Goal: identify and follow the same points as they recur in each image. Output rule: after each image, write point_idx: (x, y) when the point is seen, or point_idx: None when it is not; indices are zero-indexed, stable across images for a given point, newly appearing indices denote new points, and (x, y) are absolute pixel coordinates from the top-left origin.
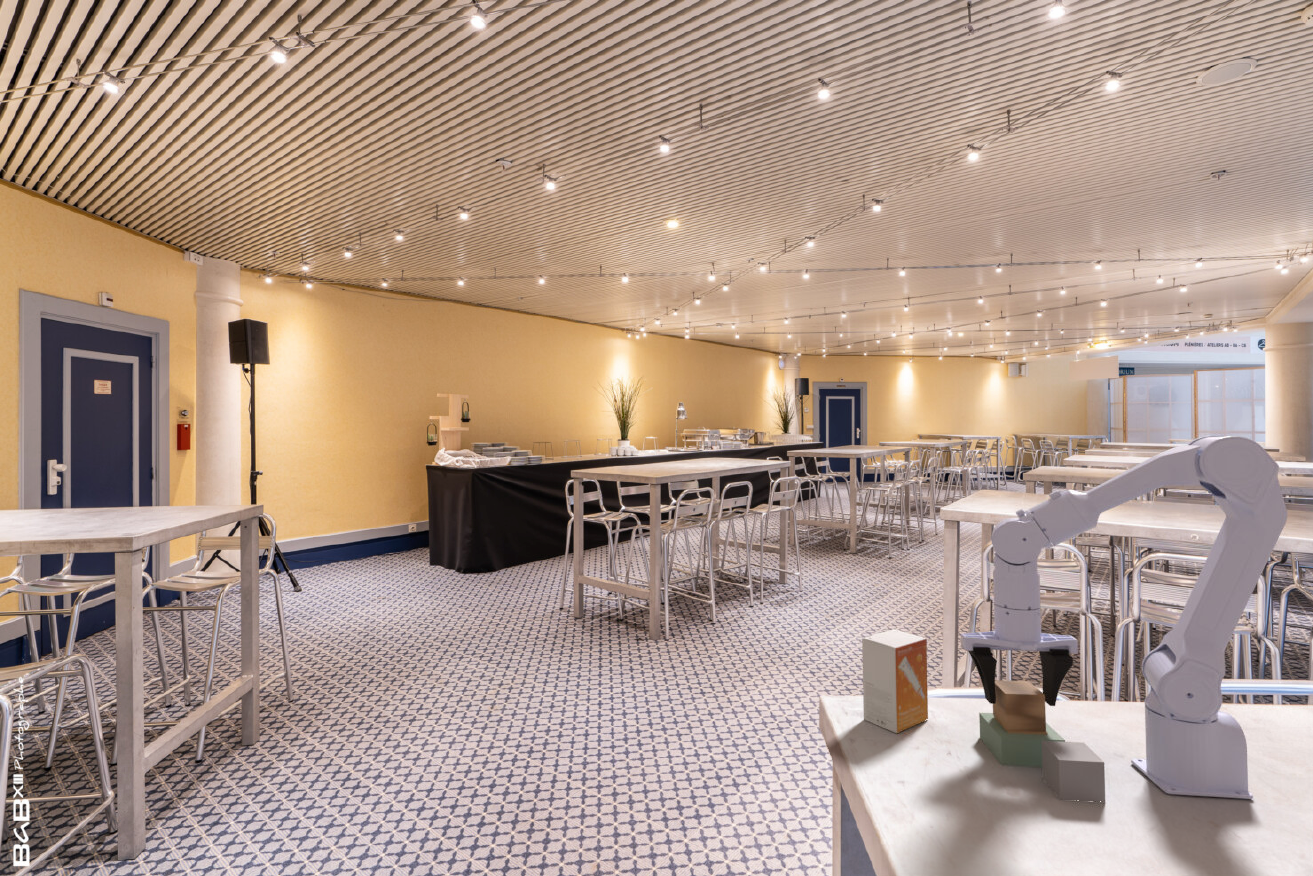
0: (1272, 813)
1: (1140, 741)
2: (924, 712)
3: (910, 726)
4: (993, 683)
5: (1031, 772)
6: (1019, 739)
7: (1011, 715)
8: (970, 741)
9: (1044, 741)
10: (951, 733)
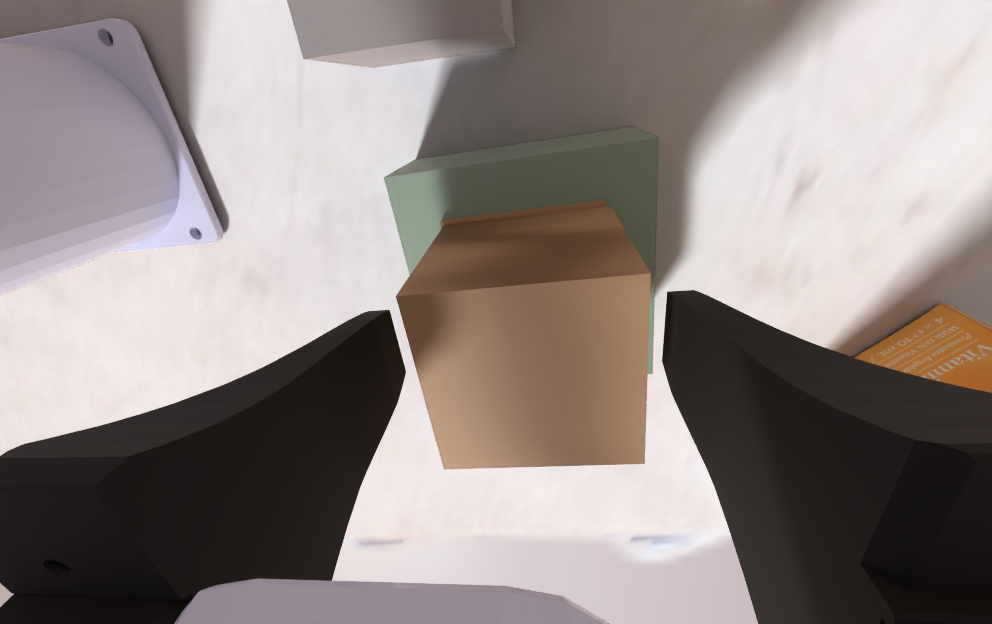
0: None
1: (200, 369)
2: None
3: (861, 355)
4: (740, 335)
5: (540, 92)
6: (573, 149)
7: (595, 230)
8: None
9: (490, 21)
10: None
